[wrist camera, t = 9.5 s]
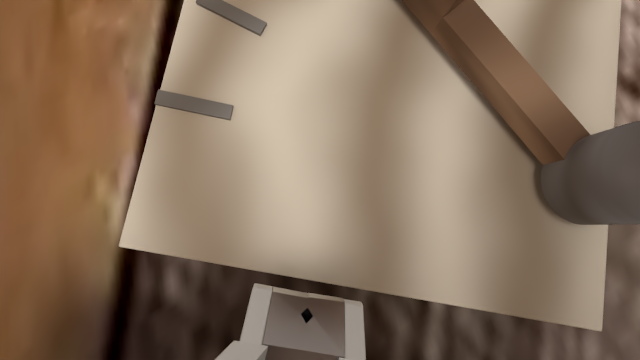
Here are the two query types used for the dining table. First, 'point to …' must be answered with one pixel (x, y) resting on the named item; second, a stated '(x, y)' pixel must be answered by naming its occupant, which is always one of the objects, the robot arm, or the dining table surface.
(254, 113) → the dial board
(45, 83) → the dining table surface
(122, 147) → the dining table surface
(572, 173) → the tuning lever
